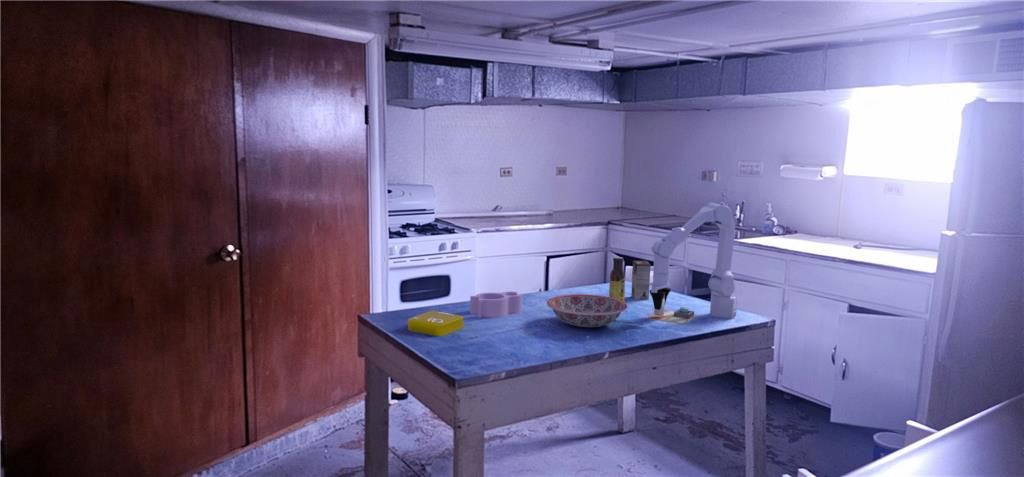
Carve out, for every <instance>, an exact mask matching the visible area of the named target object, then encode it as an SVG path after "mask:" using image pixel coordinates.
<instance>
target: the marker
mask: <svg viewBox="0 0 1024 477" xmlns="http://www.w3.org/2000/svg"><path fill="white" fill-rule="evenodd" d="M664 302H665V295H664V297H663V300H662V306H661V309H660V310H658V309H655V308H654V307H653V309H654V310H653V313H654V315H659V316H662V315H664V310H665V306H664Z"/></svg>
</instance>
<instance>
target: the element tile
mask: <svg viewBox="0 0 1024 477" xmlns="http://www.w3.org/2000/svg"><path fill="white" fill-rule="evenodd" d="M407 321H408V322H407V323H408V324H407V328H408V329H407V330H408V331H409V332H415V333H419V334H425V335H430V336H435V337H442V336H443V337H444V336H446V335H449V334H451V333H453V332H456V331H458V330H460V329H463V328H464V316H463V315H459V314H453V313H449V312H448V313H447V312H444V311H443V312H442V311H437V310H429V311H426V312H424V313H420V314H418V315H415V316H413V317H408V319H407Z"/></svg>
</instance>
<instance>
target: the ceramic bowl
mask: <svg viewBox="0 0 1024 477" xmlns="http://www.w3.org/2000/svg"><path fill="white" fill-rule="evenodd" d="M546 305H547V307H549V308H550V309H552V311H553V313H554V315H555V316H556V317H557V318H558V319H559V320H561V321H562V322H564V323H566V324H568V325H571V326H573V327H575V326H576V327H581V328H600V327H603V326H607V325H609V324H611V323H613V322H614V321H615V320H616V319H618V318H619V316H620V315H621V313H622V312H624V311H626V310H627V309H628V304H627V303H626V302H625V301H624V302H623V301H621V300H619V299H615V298H611V297H609V296H605V295H598V294H583V293H582V294H581V293H579V294H577V293H575V294H574V293H573V294H563V295H557V296H553V297H551V298H549V299H547V301H546Z"/></svg>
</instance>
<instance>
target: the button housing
mask: <svg viewBox="0 0 1024 477" xmlns="http://www.w3.org/2000/svg"><path fill="white" fill-rule="evenodd" d="M694 315H695V310H690V309H689V312H688V314H687V313H681V312H680V308H678V309H676V310H675V311H674V316H675V317H682V318H688V319H690V318H691V317H692V316H694Z"/></svg>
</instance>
